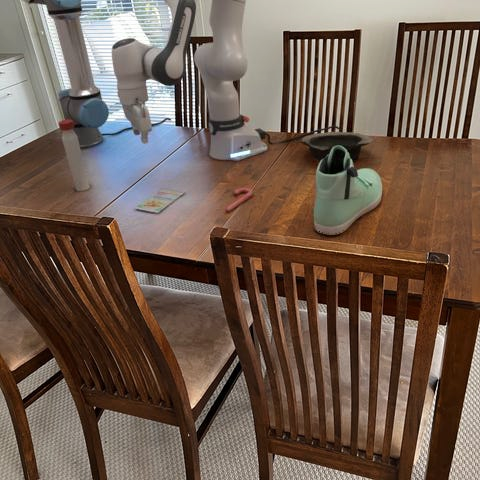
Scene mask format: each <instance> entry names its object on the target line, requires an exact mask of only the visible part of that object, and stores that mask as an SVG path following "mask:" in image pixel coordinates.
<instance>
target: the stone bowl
mask: <svg viewBox="0 0 480 480" xmlns="http://www.w3.org/2000/svg"><path fill="white" fill-rule="evenodd" d="M372 142H374V139H373V138H371V137H370V136H368V135H366V134H363V133H359V132H349V131H328V132H316V133H312V134H309V135H305V136H302V137H301V141H300V144H303V145H304V146H307V147H309V152H310V155H311V156H312V158H313V159H315V160H317V161H318V164H319V163H320V161H321V160H322V159H324V158H325V157H326V156H327V155H329V154H330V152H331V149H332V148H333V147H334V146H342V147H344V148H345V149H346V150H347V152H348V153H349V156H350V159H352V161H353V162H357V161H359V159H360V157H361V152H362V147H364V146H367V145H369V144H372Z"/></svg>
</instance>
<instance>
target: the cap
mask: <svg viewBox="0 0 480 480" xmlns="http://www.w3.org/2000/svg"><path fill="white" fill-rule="evenodd" d="M57 124H58V127H59V130H60V131H62V132H63V131H67V130H71V129H73V128H74V124H73V121H72V120H65V119H62V120H60V121H58V123H57Z"/></svg>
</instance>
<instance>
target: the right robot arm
mask: <svg viewBox="0 0 480 480" xmlns="http://www.w3.org/2000/svg"><path fill="white" fill-rule="evenodd" d="M163 1H164V3H165V4H166V6H167V7H168V8H169V9H170V12H171V22H170V27H169V31H168V35H167V39H166V43H165V45H164V47H162V48H161V47H159V46H158V47H157V46H152V45H149V44H146V43H142V42H140V41H138V40H137V39H136V38H135V37H134V38H132V37H128V38H124V39H120V40H117V41H116V42H115V43H114V44H113V45H112V46H111V61H112V68H113V73H114V76H115V78H116V88H117V97H118V99H119V104H121V106H122V111H123V114H124V116H125V118H126V120H128V121H129V123H130V125H131V127H132V128H133V129H132V130H133V134H134V135H135V136H141V137H140V141H141V143H142V144H148V143H149V138H148V137H149V136H148V135H149V133H150V132H152V131H153V126H152V125H151V124H152V121H151V116H150V115H151V114H150V111H149V109H148V106H147V105H146V102H149V94H148V88H147V81H148V80H152V81H154V82H157V83H159V84H161V85H163V86H165V87H174V86H176V85H178V84H179V83H180V82H181V81H182V80H183V78H184V76H185V75H186V69H187V51H188V49H189V43H190V40H191V35H192V32H193V29H194V28H193V27H194V24H195V17H196V13H197V0H163ZM246 3H247V0H211V7H210V13H209V20H208V21H209V26H210V29H211V32H212V40H213V41H212V42H207V43H204V44H201V45H199V46H198V47H197V48H196V50H195V52H194V55H193V61H194V64H195V66H196V68H197V69H198V71H199V74H200V77H201V80H202V83H203V86H204V90H205V94H206V98H207V105H208V115H209V116H208V129H209V133H210V147H209V153H208V156H209V157H210V158H212V159H215V160H220V161H221V160H222V161H233V162H235V161H236V162H238V161H242V160H244V159H247V158H250V157H253V156H255V155H256V156H257V155H259V154H261V153H264V152H267V151H268V150H269V149H268V145H267V144H266V143H265V142H264V141H262V140H265V139H266V137H267V143H268V144H270V145H275V144H285V143H287V142H291V141H293V140H297V139H300V138H303V137H305V136H308V135H312V134H316V133H320V132H323V131H327V130H330V129H336V130H341V128H340V127H339V126H337V125H331V126H327V127H324V128H319V129H315V130H311V131H308V132H305V133H302V134H299V135H296V136H294V137H289V138H287V139H284V140H282V141H278V142H272V141H271V135H270V134H269V133H267V132H266V131H265V130H263V129H262V128H260V127H259V128H255V129H254V128H252V127H251V126H249V125H247V124H246V123H249V121H250V117H248V116H247V115H244V114H241V113H240V104H239V103H240V101H239V93H238V90H236V88H235V86H234V83H233V82H234V81H239V80H241V79H243V77H244V76H245V75H246V73H247V71H248V59H247V56H246V55H245V53H244V47H243V23H244V15H245V9H246Z"/></svg>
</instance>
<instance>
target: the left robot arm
mask: <svg viewBox="0 0 480 480" xmlns="http://www.w3.org/2000/svg"><path fill="white" fill-rule="evenodd" d="M22 1H23V2H24V3H26V4H36V5H43V6H46V9H47V15H48V16H49V17H50V18H52V19H53V21H54V24H55V27H56V32H57V36H58V40H59V43H60V49H61V51H62V55H63V58H64V64H65V67H66V71H67V76H68V79H69V83H70V87H69V88H66V89H61V90H60V91H58V93H57V95H58V102H59V105H60V107H61V113H62V116H63V120H72V121H73V124H74V128H73V131H74V132H75V133H76V135H77V138H78V142H79V145H80V149H81V150H85V149H92V148H94V147H97V146H99V145H102V143H104V136H116V135H119V134H121V133H123V132H125V131H128V130H133V128H132V126H130V127H125V128H123V129H120V130H119V131H117V132H113V133H112V132H111V133H110V132H107V133H102V132H101V130H100V129H99V128H101V127H102V126H103V125H105V123H106V122H107V121H108V119H109V117H110V116H109V114H110V110H109V107H108V104H107V103H106V101H104V100H103V96H102V93H101V89H100V88H99V87H98V86H97V85H95V80H94V76H93V72H92V67H91V62H90V58H89V53H88V49H87V45H86V41H85V37H84V32H83V27H82V23H81V18H80V17H81V15H82V13H83V8H82V0H22ZM166 121H172V119H171V118H170V117H165V118H164V119H163V120H162V121H160V122H156V123H151V125H152V127H154V126H159V125H162V124H164V123H165V122H166Z"/></svg>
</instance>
